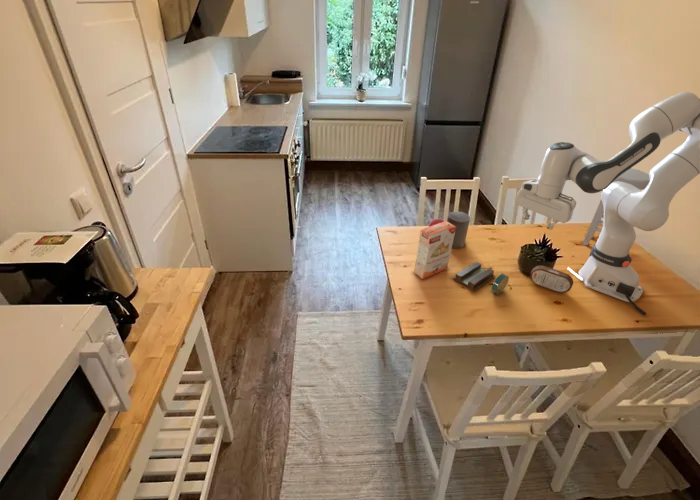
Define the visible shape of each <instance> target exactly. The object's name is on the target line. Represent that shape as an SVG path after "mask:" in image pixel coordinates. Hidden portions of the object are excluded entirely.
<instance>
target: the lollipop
mask: <svg viewBox="0 0 700 500" xmlns="http://www.w3.org/2000/svg"><path fill="white" fill-rule="evenodd" d="M442 222H445V220H443V219H441V218H434V219H433V220H431V221H430V222H429V224H428V227H430V226H433V225H436V224H439V223H442Z"/></svg>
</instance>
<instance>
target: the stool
mask: <svg viewBox="0 0 700 500" xmlns="http://www.w3.org/2000/svg"><path fill="white" fill-rule="evenodd" d="M616 181H620V182H624V183H628V184H631V185H633V186H635V187H636V188H638V189H640V190H641V191H643V190H644V189H645V188H646V187H647V185H648V184H649V182H650V179H649V173H647V172H645V171H643V170H640V169H637V168H633V167H632V168H630V169H629V170H627V171H626V172H624V173H623V174H622V175H620V176H619V177H618V178H617V179H615V180H614V181H613V182H616ZM602 218H603V219H604V207H603V203H602V200H601V199H600V200H599V203H598V205H597V208H596V210H595V213H594V215H593V217H592V219H591V221H590V225H589V227H588V229H587V231H586V234H585V236H584V239H583V241H582V243H581V244H582V245H583V246H588V245H589V244H590V241H591V239H593V238H594V236H595V234H596V232H599V233H601V230H602V228H600V227H599V226H601V227H603V220H602Z"/></svg>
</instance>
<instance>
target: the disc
mask: <svg viewBox="0 0 700 500" xmlns="http://www.w3.org/2000/svg"><path fill="white" fill-rule="evenodd" d="M509 280H510V277H509V275H507V274H505V273H502V272H501V273H500V274H499V275H498V276H497V277H496V279H495V280H494V281H493V283H492V286H491V292H493V293H494V294H495V295H500V294H501V293H502V292H503V291H504V290H505V289H506V287H507V285H508V283H509Z"/></svg>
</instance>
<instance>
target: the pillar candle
mask: <svg viewBox="0 0 700 500" xmlns="http://www.w3.org/2000/svg"><path fill="white" fill-rule="evenodd" d="M470 220H471V216H470V215H469V214H467V213H466V212H463V211H451V212H449V213H448V215H447V218H446V221H447V222H449V223H451V224H452V225H454V226H456V231H455V235H454V240H453V244H452V248H454V249H460V248H462V247H464V246H465V244H466V238H467V235H468V232H469V231H468V229H469V225H470V222H471V221H470Z"/></svg>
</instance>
